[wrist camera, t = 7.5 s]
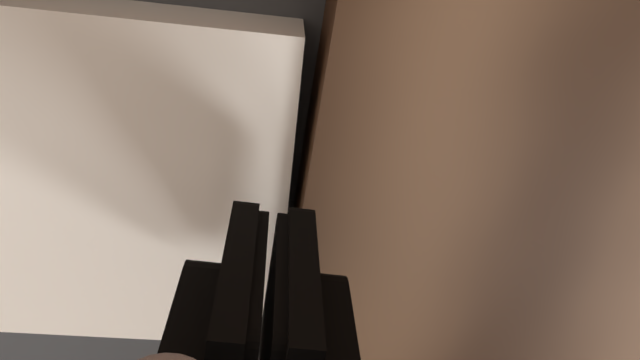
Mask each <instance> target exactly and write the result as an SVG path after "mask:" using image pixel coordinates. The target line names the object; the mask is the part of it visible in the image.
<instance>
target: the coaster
mask: <svg viewBox="0 0 640 360" xmlns="http://www.w3.org/2000/svg"><path fill="white" fill-rule="evenodd" d="M304 44H305V32H304V23H303V19H300V18H291V17H282V16H272V15H263V14H254V13H245V12H236V11H226V10H217V9H208V8H199V7H190V6H180V5H171V4H162V3H153V2H144V1H135V0H0V332H11V333H31V334H50V335H70V336H89V337H109V338H128V339H147V340H161V339H162V335H163V332H164V329H165V325H166V322H167V319H168V315H169V312H170V309H171V305H172V302H173V299H174V295H175V292H176V288H177V285H178V282H179V278H180V275H181V272H182V268H183V265H184V262H185V260H186V259H187V260H197V261H207V262H216V263H221V261H222V256H223V251H224V246H225V241H226V236H227V231H228V225H229V220H230V215H231V210H232V205H233V201H242V202H251V203H259V204H260V207H259V211H268V212H269V226H268V240H267V255H266V269H265V284H264V299H263V308H264V301H265V295H266V288H267V281H268V274H269V267H270V260H271V253H272V247H273V240H274V233H275V226H276V219H277V214H278V213H285V214H287V212H288V202H289V192H290V182H291V173H292V163H293V153H294V143H295V133H296V123H297V113H298V103H299V94H300V84H301V74H302V64H303V54H304ZM262 315H263V313H262Z"/></svg>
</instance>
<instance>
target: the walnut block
mask: <svg viewBox="0 0 640 360" xmlns="http://www.w3.org/2000/svg"><path fill="white" fill-rule="evenodd" d="M293 207H294V208H302V209H311V210H315V213H316V226H317V238H318V250H319V262H320V273H323V274H333V275H343V276H347V277H348V281H349V287H350V293H351V299H352V306H353V312H354V319H355V325H356V332H357V338H358V344H359V351H360V357H361V360H640V0H326V3H325V9H324V15H323V22H322V28H321V34H320V41H319V47H318V53H317V60H316V66H315V72H314V79H313V85H312V91H311V98H310V104H309V110H308V117H307V123H306V129H305V136H304V142H303V148H302V155H301V161H300V167H299V174H298V180H297V186H296V193H295V199H294V205H293Z"/></svg>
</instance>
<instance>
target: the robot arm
mask: <svg viewBox="0 0 640 360" xmlns="http://www.w3.org/2000/svg"><path fill="white" fill-rule="evenodd" d="M259 207H260V204H259V203H251V202H242V201H233V205H232V210H231V215H230V220H229V225H228V231H227V236H226V241H225V246H224V251H223V256H222V261H221V263H216V262H207V261H197V260H187V259H186V260H185V262H184V265H183V268H182V272H181V275H180V278H179V282H178V285H177V288H176V292H175V295H174V299H173V302H172V305H171V309H170V312H169V315H168V319H167V322H166V325H165V329H164V332H163V335H162V339H161V342H160V345H159V349H158V352H157V354H152V355H148V356H146V357H143V358H140V359H138V360H258V357H259V360H361V357H360V351H359V344H358V338H357V332H356V325H355V319H354V312H353V306H352V299H351V293H350V287H349V281H348V277H347V276H343V275H333V274H323V273H320V262H319V250H318V238H317V226H316V213H315V210H311V209H302V208H294V207H289V208H288V212H287V214H285V213H278V214H277V219H276V226H275V233H274V240H273V247H272V253H271V260H270V267H269V274H268V281H267V288H266V295H265V301H264V308H263V299H264V284H265V269H266V255H267V240H268V226H269V212H268V211H259ZM262 313H263V315H262Z"/></svg>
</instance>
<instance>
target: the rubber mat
mask: <svg viewBox="0 0 640 360" xmlns="http://www.w3.org/2000/svg"><path fill="white" fill-rule="evenodd" d="M135 1H144V2H153V3H162V4H171V5H180V6H190V7H199V8H208V9H217V10H226V11H236V12H245V13H254V14H263V15H272V16H282V17H291V18H300V19H303V23H304V32H305V44H304V54H303V64H302V74H301V84H300V94H299V103H298V113H297V123H296V133H295V143H294V153H293V163H292V173H291V182H290V192H289V202H288V208H289V207H293V205H294V199H295V193H296V186H297V180H298V174H299V167H300V161H301V155H302V148H303V142H304V136H305V129H306V123H307V117H308V110H309V104H310V98H311V91H312V85H313V79H314V72H315V66H316V60H317V53H318V47H319V41H320V34H321V28H322V22H323V15H324V9H325V3H326V0H135ZM160 342H161V340H147V339H128V338H109V337H89V336H70V335H50V334H31V333H11V332H0V360H138V359H140V358H143V357H146V356H148V355H152V354H157V352H158V349H159V345H160ZM258 360H259V357H258Z"/></svg>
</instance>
